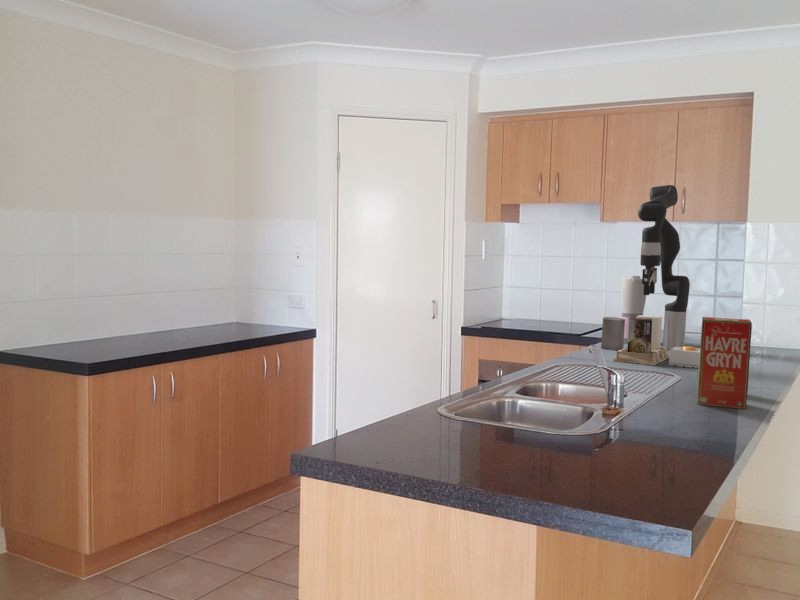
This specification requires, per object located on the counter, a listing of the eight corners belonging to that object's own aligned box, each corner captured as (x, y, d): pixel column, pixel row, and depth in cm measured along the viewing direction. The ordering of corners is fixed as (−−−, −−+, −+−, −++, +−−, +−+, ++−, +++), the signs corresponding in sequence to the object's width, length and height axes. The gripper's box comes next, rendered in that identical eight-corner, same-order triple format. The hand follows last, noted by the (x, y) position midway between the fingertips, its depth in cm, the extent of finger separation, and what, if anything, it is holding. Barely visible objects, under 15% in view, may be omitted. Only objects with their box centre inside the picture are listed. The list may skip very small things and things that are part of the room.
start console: (675, 361, 303) (676, 346, 302) (707, 364, 297) (708, 349, 296) (668, 365, 293) (669, 349, 292) (701, 368, 286) (702, 352, 286)
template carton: (637, 353, 317) (639, 315, 316) (659, 355, 312) (662, 316, 311) (634, 354, 312) (636, 316, 311) (656, 356, 307) (658, 317, 306)
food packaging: (696, 404, 218) (702, 318, 216) (696, 399, 226) (701, 316, 225) (747, 409, 213) (753, 321, 211) (744, 403, 222) (750, 319, 220)
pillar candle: (596, 347, 339) (598, 314, 338) (615, 346, 342) (617, 314, 341) (609, 350, 330) (611, 316, 329) (628, 350, 333) (630, 316, 332)
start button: (683, 358, 298) (683, 345, 297) (696, 359, 295) (696, 347, 295) (680, 359, 294) (681, 347, 293) (693, 361, 291) (694, 348, 291)
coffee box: (650, 358, 301) (653, 318, 300) (650, 360, 295) (652, 319, 294) (627, 356, 304) (629, 317, 303) (626, 359, 298) (628, 318, 297)
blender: (646, 344, 354) (650, 276, 351) (619, 343, 356) (622, 275, 353) (641, 340, 369) (645, 275, 367) (615, 339, 371) (619, 274, 369)
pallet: (631, 353, 321) (631, 344, 321) (670, 357, 313) (670, 348, 313) (613, 361, 298) (613, 351, 298) (654, 365, 290) (655, 355, 290)
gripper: (645, 253, 309) (643, 292, 311) (636, 254, 297) (635, 295, 299) (664, 253, 305) (662, 293, 307) (656, 254, 293) (654, 296, 295)
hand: (648, 294), depth 303 cm, fingers open, 8 cm apart
